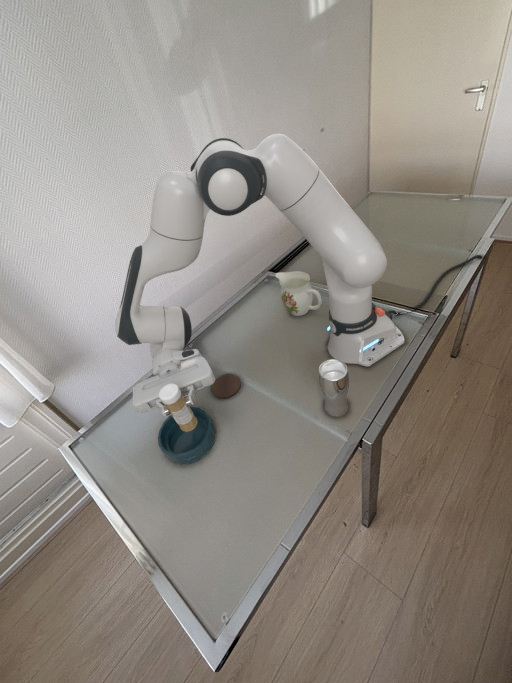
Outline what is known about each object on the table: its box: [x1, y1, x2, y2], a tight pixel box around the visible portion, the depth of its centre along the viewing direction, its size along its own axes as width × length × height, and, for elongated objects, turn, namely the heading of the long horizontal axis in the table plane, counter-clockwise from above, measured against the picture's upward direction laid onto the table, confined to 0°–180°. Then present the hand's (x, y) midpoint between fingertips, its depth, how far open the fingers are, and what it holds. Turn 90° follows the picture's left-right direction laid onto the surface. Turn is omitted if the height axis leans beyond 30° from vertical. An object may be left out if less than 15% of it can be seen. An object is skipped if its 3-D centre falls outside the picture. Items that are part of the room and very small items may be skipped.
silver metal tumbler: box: [318, 358, 350, 418], centre depth 79 cm, size 7×7×15 cm
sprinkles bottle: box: [159, 384, 197, 432], centre depth 74 cm, size 5×5×14 cm
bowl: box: [157, 406, 217, 466], centre depth 85 cm, size 14×14×5 cm
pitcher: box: [274, 270, 323, 317], centre depth 112 cm, size 11×18×14 cm, turn 49°
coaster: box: [211, 373, 242, 399], centre depth 97 cm, size 9×9×1 cm
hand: (178, 409), depth 73 cm, fingers closed on sprinkles bottle, 4 cm apart
